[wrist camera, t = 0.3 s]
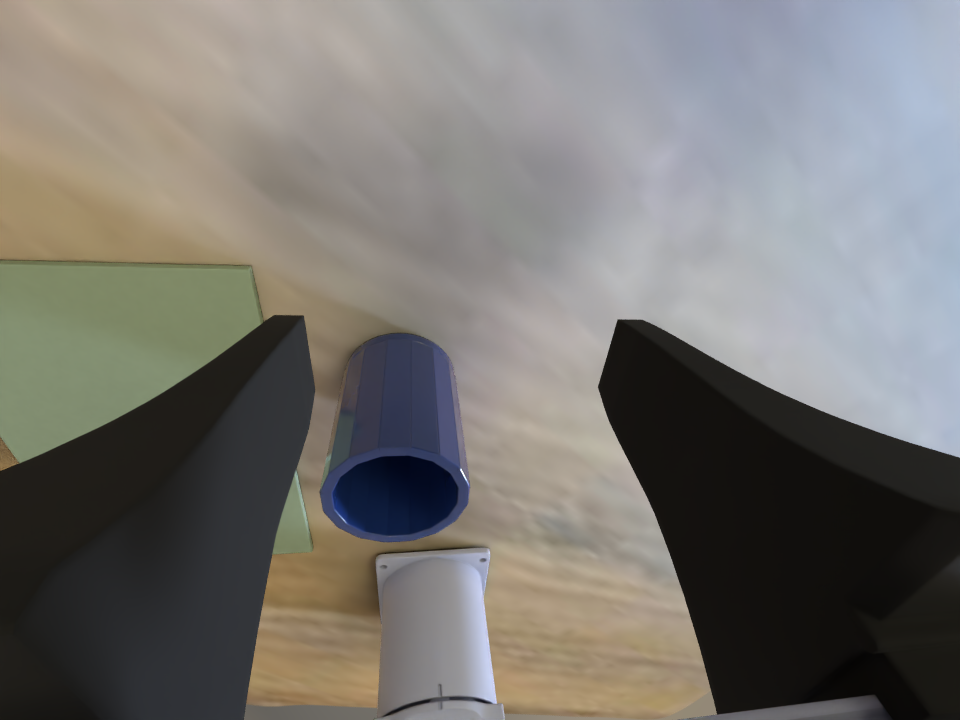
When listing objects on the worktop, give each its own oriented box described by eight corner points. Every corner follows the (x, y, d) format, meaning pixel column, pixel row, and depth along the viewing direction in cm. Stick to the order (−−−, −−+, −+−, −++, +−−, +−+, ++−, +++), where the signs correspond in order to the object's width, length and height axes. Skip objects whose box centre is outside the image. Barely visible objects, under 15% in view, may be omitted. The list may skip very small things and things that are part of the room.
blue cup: (452, 417, 25) (465, 538, 19) (349, 419, 24) (329, 546, 18) (456, 332, 22) (474, 444, 16) (339, 332, 21) (310, 450, 15)
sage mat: (313, 546, 30) (312, 552, 30) (96, 560, 29) (92, 566, 28) (251, 265, 19) (248, 269, 19) (-117, 257, 17) (-127, 261, 17)
